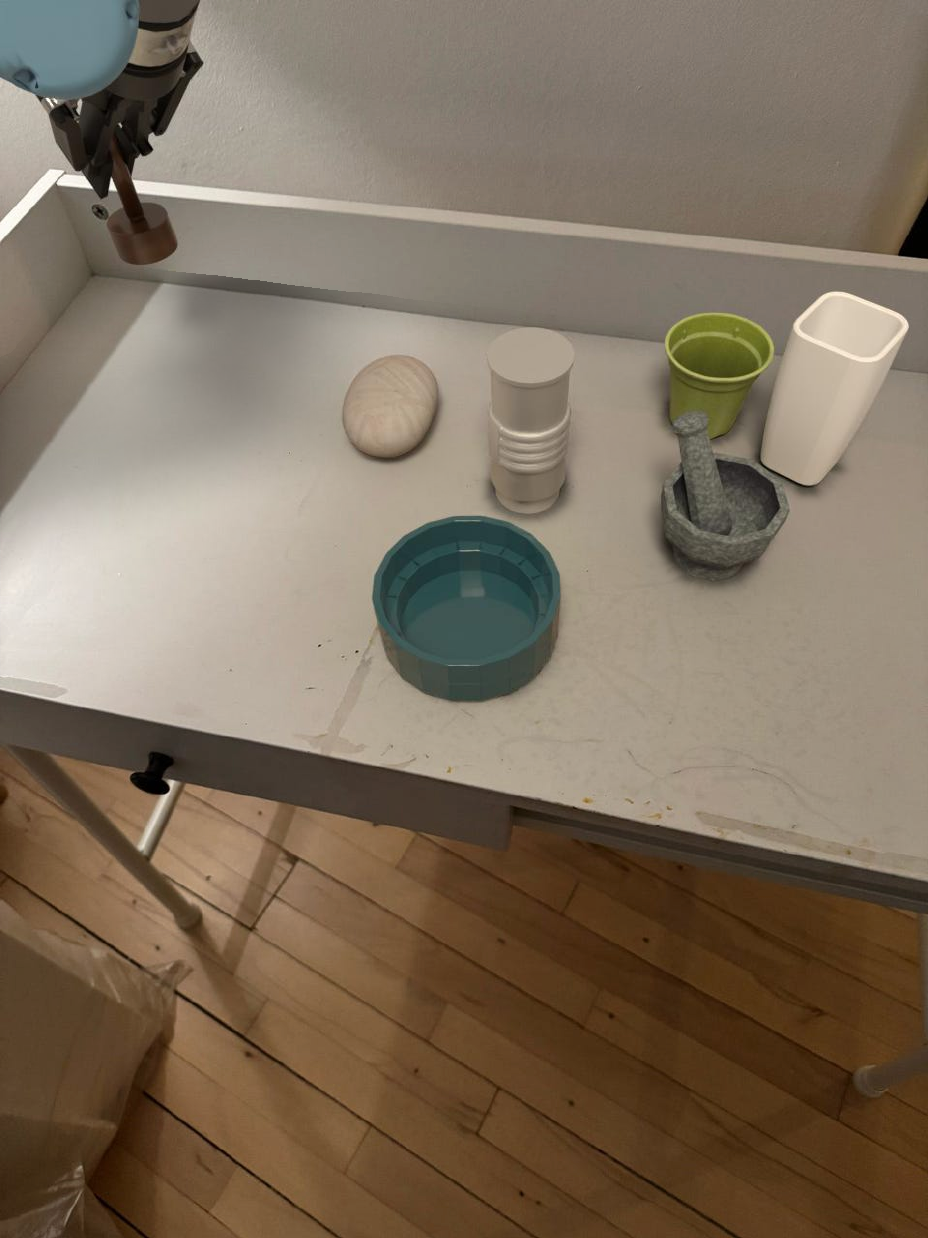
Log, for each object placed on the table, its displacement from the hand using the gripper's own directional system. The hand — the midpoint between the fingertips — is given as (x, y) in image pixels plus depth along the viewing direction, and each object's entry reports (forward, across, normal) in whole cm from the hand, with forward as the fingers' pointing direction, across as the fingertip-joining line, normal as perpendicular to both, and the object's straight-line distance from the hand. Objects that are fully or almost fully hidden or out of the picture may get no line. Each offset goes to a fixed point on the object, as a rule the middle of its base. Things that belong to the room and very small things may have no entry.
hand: (105, 178), depth 77 cm
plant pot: (-22, +29, -48) cm, 60 cm away
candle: (-18, +11, -44) cm, 48 cm away
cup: (-29, +31, -55) cm, 69 cm away
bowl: (-23, -4, -49) cm, 54 cm away
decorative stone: (-7, +8, -33) cm, 34 cm away
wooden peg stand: (+1, 0, -6) cm, 7 cm away
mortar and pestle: (-29, +16, -55) cm, 64 cm away
